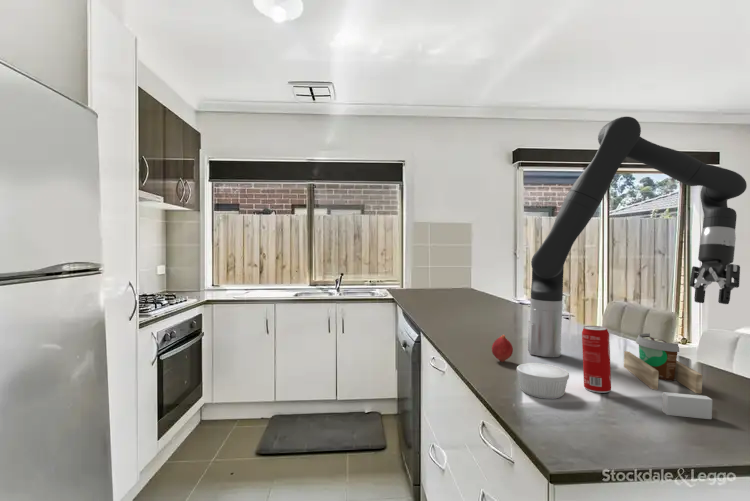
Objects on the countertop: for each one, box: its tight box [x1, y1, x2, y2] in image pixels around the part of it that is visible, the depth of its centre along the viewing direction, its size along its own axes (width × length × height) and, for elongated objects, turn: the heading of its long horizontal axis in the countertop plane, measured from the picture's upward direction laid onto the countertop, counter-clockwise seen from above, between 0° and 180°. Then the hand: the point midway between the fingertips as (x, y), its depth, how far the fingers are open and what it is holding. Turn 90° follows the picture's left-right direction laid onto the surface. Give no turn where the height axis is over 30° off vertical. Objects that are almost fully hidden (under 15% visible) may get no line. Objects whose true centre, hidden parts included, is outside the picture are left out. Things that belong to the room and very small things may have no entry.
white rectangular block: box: [661, 391, 713, 420], centre depth 84 cm, size 8×2×4 cm, turn 78°
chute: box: [623, 350, 703, 395], centre depth 106 cm, size 10×18×4 cm, turn 168°
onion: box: [491, 334, 514, 363], centre depth 118 cm, size 6×6×8 cm
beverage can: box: [581, 325, 612, 394], centre depth 97 cm, size 6×6×15 cm
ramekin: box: [516, 362, 570, 400], centre depth 95 cm, size 11×11×5 cm
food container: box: [635, 332, 680, 382], centre depth 110 cm, size 12×6×10 cm, turn 178°
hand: (710, 303), depth 111 cm, fingers open, 8 cm apart
